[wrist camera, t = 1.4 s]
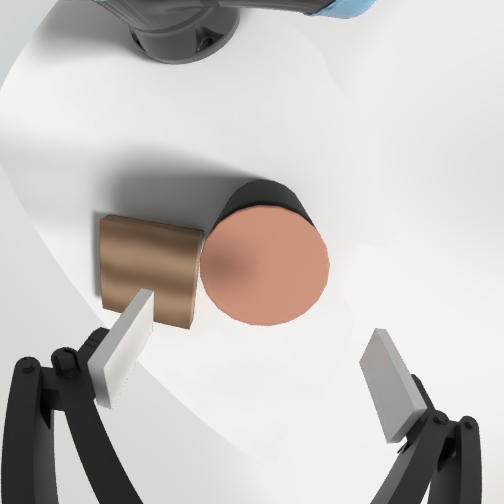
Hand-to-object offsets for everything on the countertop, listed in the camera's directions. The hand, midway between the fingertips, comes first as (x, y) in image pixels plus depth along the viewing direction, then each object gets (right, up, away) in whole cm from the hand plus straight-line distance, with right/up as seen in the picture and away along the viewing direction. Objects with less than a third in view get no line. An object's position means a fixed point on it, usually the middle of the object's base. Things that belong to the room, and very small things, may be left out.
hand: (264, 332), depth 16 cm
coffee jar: (+1, +9, +25) cm, 26 cm away
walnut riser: (-16, +2, +28) cm, 32 cm away
